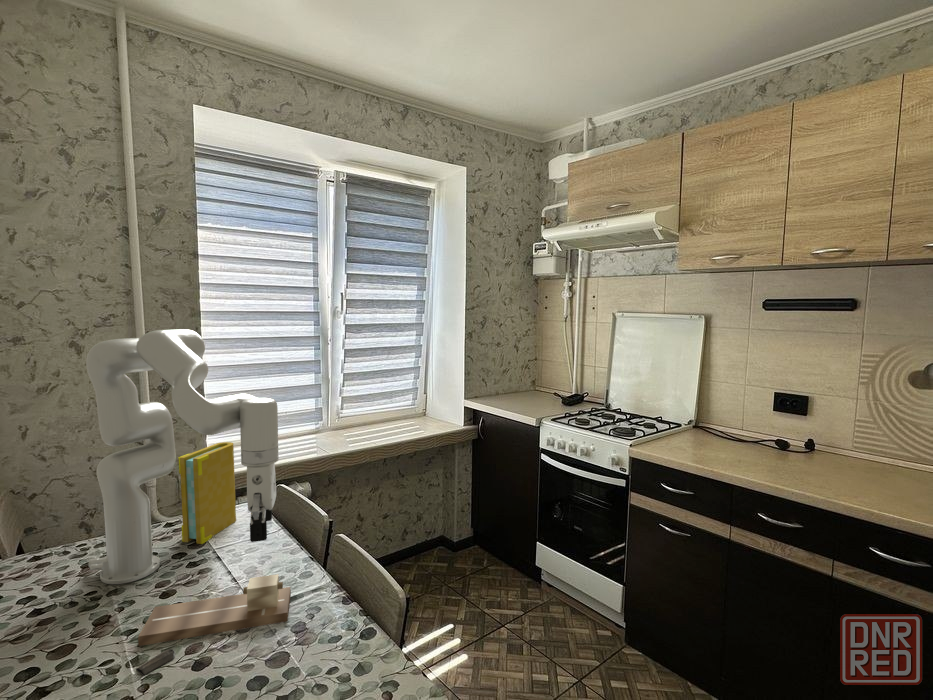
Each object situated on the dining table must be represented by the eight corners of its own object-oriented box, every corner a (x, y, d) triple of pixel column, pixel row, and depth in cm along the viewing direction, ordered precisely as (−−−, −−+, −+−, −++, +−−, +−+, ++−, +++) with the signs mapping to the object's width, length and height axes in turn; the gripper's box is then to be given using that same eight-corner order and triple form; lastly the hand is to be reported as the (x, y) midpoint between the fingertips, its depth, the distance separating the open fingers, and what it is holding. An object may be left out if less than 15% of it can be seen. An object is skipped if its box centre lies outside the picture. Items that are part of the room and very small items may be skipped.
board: (138, 646, 96) (138, 636, 95) (155, 615, 105) (155, 606, 105) (287, 621, 103) (287, 612, 103) (290, 594, 113) (290, 586, 113)
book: (202, 544, 137) (198, 459, 135) (182, 541, 139) (178, 457, 136) (241, 519, 154) (238, 442, 152) (222, 517, 155) (220, 441, 153)
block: (136, 675, 90) (134, 666, 89) (169, 653, 95) (167, 645, 95) (146, 680, 88) (144, 671, 88) (179, 658, 93) (177, 649, 93)
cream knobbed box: (242, 612, 103) (241, 590, 103) (245, 600, 108) (245, 578, 107) (282, 605, 106) (281, 584, 105) (283, 594, 110) (283, 573, 109)
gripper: (274, 466, 97) (275, 546, 99) (281, 442, 114) (283, 512, 115) (233, 469, 95) (236, 551, 97) (247, 445, 112) (249, 515, 113)
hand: (261, 530), depth 106 cm, fingers open, 9 cm apart
